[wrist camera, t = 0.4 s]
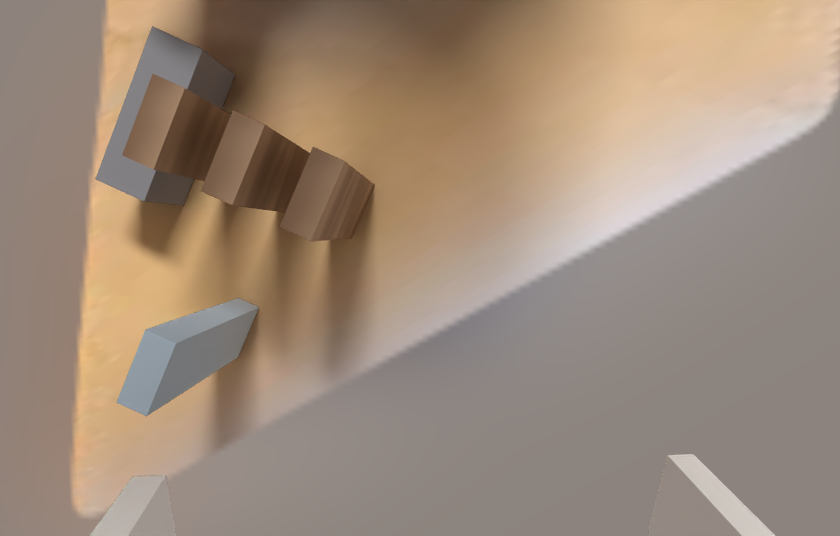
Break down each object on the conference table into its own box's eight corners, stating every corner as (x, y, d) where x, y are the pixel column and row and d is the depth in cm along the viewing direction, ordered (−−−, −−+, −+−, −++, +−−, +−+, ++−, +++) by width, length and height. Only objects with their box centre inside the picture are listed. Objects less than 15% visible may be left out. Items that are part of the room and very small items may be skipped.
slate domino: (259, 307, 37) (175, 343, 25) (237, 357, 38) (146, 416, 26) (238, 298, 37) (145, 329, 25) (217, 348, 38) (116, 402, 26)
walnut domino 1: (267, 136, 36) (184, 88, 24) (245, 190, 36) (153, 169, 24) (246, 126, 36) (152, 73, 24) (224, 180, 36) (121, 155, 24)
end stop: (235, 75, 35) (202, 49, 30) (183, 205, 36) (144, 201, 32) (191, 55, 35) (152, 26, 30) (141, 186, 36) (95, 179, 31)
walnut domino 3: (374, 184, 36) (344, 161, 24) (351, 238, 36) (310, 241, 24) (353, 175, 36) (313, 146, 24) (330, 228, 36) (279, 226, 24)
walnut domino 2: (321, 160, 36) (264, 124, 24) (298, 214, 36) (232, 205, 24) (299, 150, 36) (232, 110, 24) (277, 204, 36) (200, 191, 24)
